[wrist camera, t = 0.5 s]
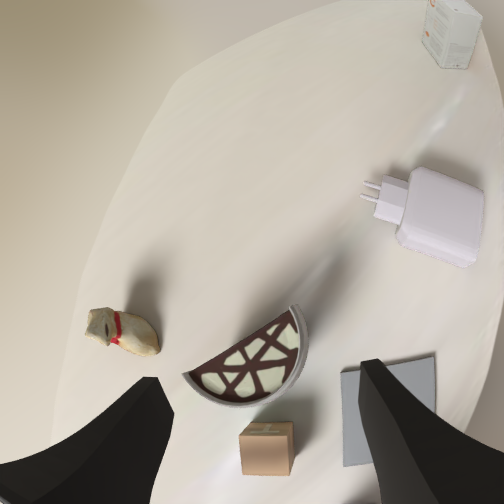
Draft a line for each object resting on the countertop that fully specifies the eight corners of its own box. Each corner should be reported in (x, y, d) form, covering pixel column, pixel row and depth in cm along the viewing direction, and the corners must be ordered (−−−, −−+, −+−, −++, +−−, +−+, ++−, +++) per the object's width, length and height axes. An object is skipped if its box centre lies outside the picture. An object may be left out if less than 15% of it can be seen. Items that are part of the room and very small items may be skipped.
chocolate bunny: (140, 298, 39) (91, 287, 29) (165, 350, 36) (116, 353, 27) (113, 317, 39) (63, 311, 30) (135, 367, 36) (85, 373, 27)
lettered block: (294, 457, 29) (289, 475, 24) (253, 457, 30) (242, 474, 25) (292, 420, 30) (287, 434, 26) (250, 421, 32) (238, 434, 27)
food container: (242, 408, 32) (211, 434, 23) (215, 365, 34) (176, 376, 25) (333, 354, 31) (336, 365, 22) (304, 309, 33) (294, 302, 24)
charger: (368, 166, 36) (470, 203, 31) (350, 231, 34) (460, 269, 30) (371, 146, 31) (485, 187, 27) (353, 217, 30) (477, 261, 25)
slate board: (430, 448, 25) (432, 450, 24) (343, 464, 27) (343, 466, 27) (432, 356, 28) (433, 356, 28) (340, 372, 31) (340, 373, 30)
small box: (467, 69, 35) (484, 17, 23) (440, 68, 36) (454, 11, 24) (447, 43, 37) (457, -7, 25) (420, 41, 39) (428, -12, 26)
